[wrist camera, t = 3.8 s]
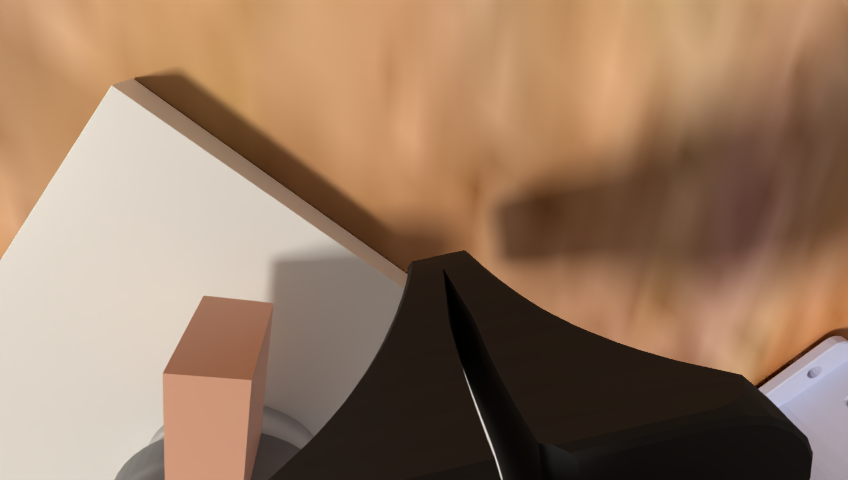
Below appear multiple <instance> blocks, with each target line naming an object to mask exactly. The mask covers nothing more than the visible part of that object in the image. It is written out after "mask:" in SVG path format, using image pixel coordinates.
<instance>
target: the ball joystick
mask: <svg viewBox="0 0 848 480" xmlns="http://www.w3.org/2000/svg"><path fill="white" fill-rule="evenodd" d="M273 304H274V303H269V302H260V301H250V300H241V299H232V298H223V297H213V296H203V297H202V299H201V301H200V303H199V305H198V307H197V309H196V311H195V313H194V315H193V316H192V318H191V320H190V322H189V324H188V326H187V328H186V330H185V332H184V334H183V335H182V337H181V339H180V341H179V343H178V345H177V347H176V349H175V351H174V353H173V355H172V356H171V358H170V360H169V362H168V364H167V366H166V368H165V370H164V372H163V419H164V439H161V440H158V441H156V442H154V443H152V444H150V445H148V446H147V447H145V448H143V449H142V450H140V451H139V452H137V453H136V454H135V455H133V456H132V457H131V458H130V459H129V460H128V461H127V462H126V463H125V464H124V465H123V467H122V468H121V469H120V471H119V472H118V474H117V475H116V477H115V479H114V480H268V479H270V478H271V477H272V476H273V475H274V474H275V473H276V472H277V471H278V470H280V469H281V468H282V467H283V466H284V465H285V464H286V463H287V462H288V461H289V460H290V459H291V458H292V457H294V456H295V455H296V454H297V453H298V452H299V451H300V450H301V449H300V448H298V447H296V446H295V445H293V444H291V443H289V442H287V441H284V440H282V439H279V438H277V437H274V436H270V435H267V434H264V433H261V429H262V419H263V408H264V398H265V388H266V377H267V367H268V356H269V346H270V335H271V325H272V314H273Z"/></svg>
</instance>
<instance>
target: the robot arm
mask: <svg viewBox="0 0 848 480" xmlns="http://www.w3.org/2000/svg"><path fill="white" fill-rule="evenodd" d="M464 373H465V374H464ZM465 375H466V377H465ZM466 378H467V380H466ZM467 381H468V383H469V386H470V388H471V391H472V394H473V396H474V399H475V401H476V404H477V407H478V409H479V412H480V414H481V417H482V420H483V422H484V425H485V427H486V430H487V433H488V435H489V438H490V440H491V443H492V446H493V449H494V452H495V455H496V458H497V461H498V464H499V467H500V471H501V475H502V478H503V480H848V340H847V339H845V338H844V337H842V336H833V337H829V338H827V339H826V340H824V341H823V342H821V343H820V344H819V345H817V346H816V347H815V348H813V349H812V350H810V351H809V352H808V353H806V354H805V355H804V356H802V357H801V358H799V359H798V360H797V361H795V362H794V363H793V364H791V365H790V366H788V367H787V368H786V369H784V370H783V371H782V372H780V373H779V374H778V375H776V376H775V377H773V378H772V379H771V380H769V381H768V382H767V383H765V384H764V385H762V386H761V387H760V388H758V389H757V388H756V387H755V386H754V385H753V384H752V383H751V382H749V381H748V380H747V379H746V378H745V377H744V376H742V375H740V374H735V373H731V372H726V371H721V370H717V369H712V368H708V367H703V366H699V365H694V364H689V363H685V362H680V361H676V360H672V359H669V358H665V357H662V356H658V355H655V354H652V353H648V352H645V351H641V350H638V349H635V348H632V347H629V346H626V345H623V344H620V343H617V342H614V341H612V340H609V339H607V338H604V337H602V336H599V335H596V334H594V333H591V332H589V331H586V330H584V329H582V328H580V327H577V326H575V325H573V324H571V323H569V322H567V321H565V320H563V319H561V318H559V317H557V316H555V315H553V314H551V313H549V312H547V311H545V310H544V309H542V308H540V307H538V306H537V305H535V304H534V303H532V302H530V301H529V300H527V299H526V298H524V297H523V296H521V295H520V294H518V293H517V292H515V291H514V290H513V289H511V288H510V287H509V286H507V285H506V284H505V283H503V282H502V281H501V280H499V279H498V278H497V277H495V276H494V275H493V274H492V273H490V272H489V271H488V270H487V269H486V268H484V267H483V266H482V265H481V264H480V263H479V262H478V261H476V260H475V259H474V258H473V257H472V256H471V255H470V254H469V253H467V252H466V251H464V250H463V251H459V252H454V253H449V254H445V255H440V256H436V257H431V258H426V259H422V260H417V261H412V263H411V264H410V265H409V267H408V276H407V280H406V285H405V288H404V292H403V295H402V298H401V301H400V303H399V306H398V309H397V312H396V314H395V317H394V319H393V321H392V324H391V326H390V328H389V330H388V332H387V335H386V337H385V339H384V341H383V343H382V345H381V347H380V349H379V350H378V352H377V354H376V356H375V357H374V359H373V361H372V362H371V364H370V366H369V367H368V369H367V371H366V372H365V374H364V375H363V377H362V378H361V379H360V381H359V382H358V384H357V385H356V387H355V388H354V390H353V391H352V393H351V394H350V395H349V397H348V398H347V399H346V401H345V402H344V403H343V404H342V406H341V407H340V408H339V409H338V410H337V412H336V413H335V414H334V415H333V416H332V417H331V418H330V420H329V421H328V422H327V423H326V424H325V425H324V427H323V428H322V429H321V430H320V431H319V432H318V433H317V434H316V435H315V436H314V437H313V438H312V439H311V440H310V441H309V442H308V443H307V444H306V445H305V446H304V447H303V448H302V449H301V450H300V451H299V452H298V453H297V454H296V455H295V456H294V457H292V458H291V459H290V460H289V461H288V462H287V463H286V464H285V465H284V466H283V467H282V468H281V469H280V470H278V471H277V472H276V473H275V474H274V475H273V476H272V477H271V478H270V479H268V480H501V477H500V474H499V471H498V467H497V464H496V460H495V457H494V455H493V452H492V450H491V447H490V444H489V442H488V439H487V437H486V434H485V431H484V428H483V426H482V423H481V420H480V417H479V415H478V412H477V409H476V406H475V403H474V400H473V397H472V395H471V392H470V389H469V386H468V383H467Z"/></svg>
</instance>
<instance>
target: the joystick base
mask: <svg viewBox="0 0 848 480" xmlns="http://www.w3.org/2000/svg"><path fill="white" fill-rule="evenodd" d="M407 276H408V274H406V273H405V272H404V271H402V270H401V269H399V268H398V267H397V266H395V265H394V264H392V263H391V262H390V261H388V260H387V259H385V258H384V257H383V256H381V255H380V254H378V253H377V252H376V251H374V250H373V249H371V248H370V247H369V246H367V245H366V244H364V243H363V242H362V241H360V240H359V239H357V238H356V237H354V236H353V235H352V234H350V233H349V232H347V231H346V230H345V229H343V228H342V227H340V226H339V225H338V224H336V223H335V222H333V221H332V220H331V219H329V218H328V217H326V216H325V215H324V214H322V213H321V212H319V211H318V210H317V209H315V208H314V207H312V206H311V205H310V204H308V203H307V202H305V201H304V200H303V199H301V198H300V197H298V196H297V195H296V194H294V193H293V192H291V191H290V190H289V189H287V188H286V187H284V186H283V185H282V184H280V183H279V182H277V181H276V180H275V179H273V178H272V177H270V176H269V175H268V174H266V173H265V172H263V171H262V170H260V169H259V168H258V167H256V166H255V165H253V164H252V163H251V162H249V161H248V160H246V159H245V158H244V157H242V156H241V155H239V154H238V153H237V152H235V151H234V150H232V149H231V148H230V147H228V146H227V145H225V144H224V143H223V142H221V141H220V140H218V139H217V138H216V137H214V136H213V135H211V134H210V133H209V132H207V131H206V130H204V129H203V128H202V127H200V126H199V125H197V124H196V123H195V122H193V121H192V120H190V119H189V118H188V117H186V116H185V115H183V114H182V113H181V112H179V111H178V110H176V109H175V108H173V107H172V106H171V105H169V104H168V103H166V102H165V101H164V100H162V99H161V98H159V97H158V96H157V95H155V94H154V93H152V92H151V91H150V90H148V89H147V88H145V87H144V86H143V85H141V84H140V83H138V82H137V81H136V80H134V79H133V78H131V79H128V80H126V81H123V82H120V83H117V84H114V85H112V86H111V87H110V89H109V90H108V92H107V93H106V95H105V97H104V98H103V100H102V101H101V103H100V104H99V106H98V108H97V109H96V111H95V112H94V114H93V115H92V117H91V119H90V120H89V122H88V123H87V125H86V126H85V128H84V130H83V131H82V133H81V134H80V136H79V137H78V139H77V141H76V142H75V144H74V145H73V147H72V148H71V150H70V152H69V153H68V155H67V156H66V158H65V159H64V161H63V163H62V164H61V166H60V167H59V169H58V171H57V172H56V174H55V175H54V177H53V178H52V180H51V182H50V183H49V185H48V186H47V188H46V189H45V191H44V193H43V194H42V196H41V197H40V199H39V200H38V202H37V204H36V205H35V207H34V208H33V210H32V211H31V213H30V215H29V216H28V218H27V219H26V221H25V222H24V224H23V226H22V227H21V229H20V230H19V232H18V233H17V235H16V237H15V238H14V240H13V241H12V243H11V244H10V246H9V248H8V249H7V251H6V252H5V254H4V255H3V257H2V259H1V260H0V480H114V479H115V477H116V475H117V474H118V472H119V471H120V469H121V468H122V467H123V465H124V464H125V463H126V462H127V461H128V460H129V459H130V458H131V457H132V456H133V455H135V454H136V453H137V452H139V451H140V450H142V449H143V448H145V447H147V446H148V445H150V444H152V443H154V442H156V441H158V440H161V439H164V419H163V372H164V370H165V368H166V366H167V364H168V362H169V360H170V358H171V356H172V355H173V353H174V351H175V349H176V347H177V345H178V343H179V341H180V339H181V337H182V335H183V334H184V332H185V330H186V328H187V326H188V324H189V322H190V320H191V318H192V316H193V315H194V313H195V311H196V309H197V307H198V305H199V303H200V301H201V299H202V297H203V296H213V297H223V298H232V299H241V300H250V301H260V302H269V303H274V304H273V314H272V325H271V335H270V346H269V356H268V367H267V377H266V388H265V398H264V408H263V419H262V429H261V433H264V434H267V435H270V436H274V437H277V438H279V439H282V440H284V441H287V442H289V443H291V444H293V445H295V446H296V447H298V448H300V449H302V448H303V447H304V446H305V445H306V444H307V443H308V442H309V441H310V440H311V439H312V438H313V437H314V436H315V435H316V434H317V433H318V432H319V431H320V430H321V429H322V428H323V427H324V425H325V424H326V423H327V422H328V421H329V420H330V418H331V417H332V416H333V415H334V414H335V413H336V412H337V410H338V409H339V408H340V407H341V406H342V404H343V403H344V402H345V401H346V399H347V398H348V397H349V395H350V394H351V393H352V391H353V390H354V388H355V387H356V385H357V384H358V382H359V381H360V379H361V378H362V377H363V375H364V374H365V372H366V371H367V369H368V367H369V366H370V364H371V362H372V361H373V359H374V357H375V356H376V354H377V352H378V350H379V349H380V347H381V345H382V343H383V341H384V339H385V337H386V335H387V332H388V330H389V328H390V326H391V324H392V321H393V319H394V317H395V314H396V312H397V309H398V306H399V303H400V301H401V298H402V295H403V292H404V288H405V285H406V280H407ZM464 374H465V373H464ZM465 377H466V375H465ZM466 380H467V378H466ZM467 383H468V381H467ZM468 386H469V383H468ZM469 389H470V392H471V395H472V397H473V400H474V403H475V406H476V409H477V412H478V415H479V417H480V420H481V423H482V426H483V428H484V431H485V434H486V437H487V439H488V442H489V444H490V447H491V450H492V452H493V455H494V457H495V460H496V464H497V467H498V471H499V474H500V477H501V480H503V478H502V475H501V471H500V467H499V464H498V461H497V458H496V455H495V452H494V449H493V446H492V443H491V440H490V438H489V435H488V433H487V430H486V427H485V425H484V422H483V420H482V417H481V414H480V412H479V409H478V407H477V404H476V401H475V399H474V396H473V394H472V391H471V388H470V386H469Z"/></svg>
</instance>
